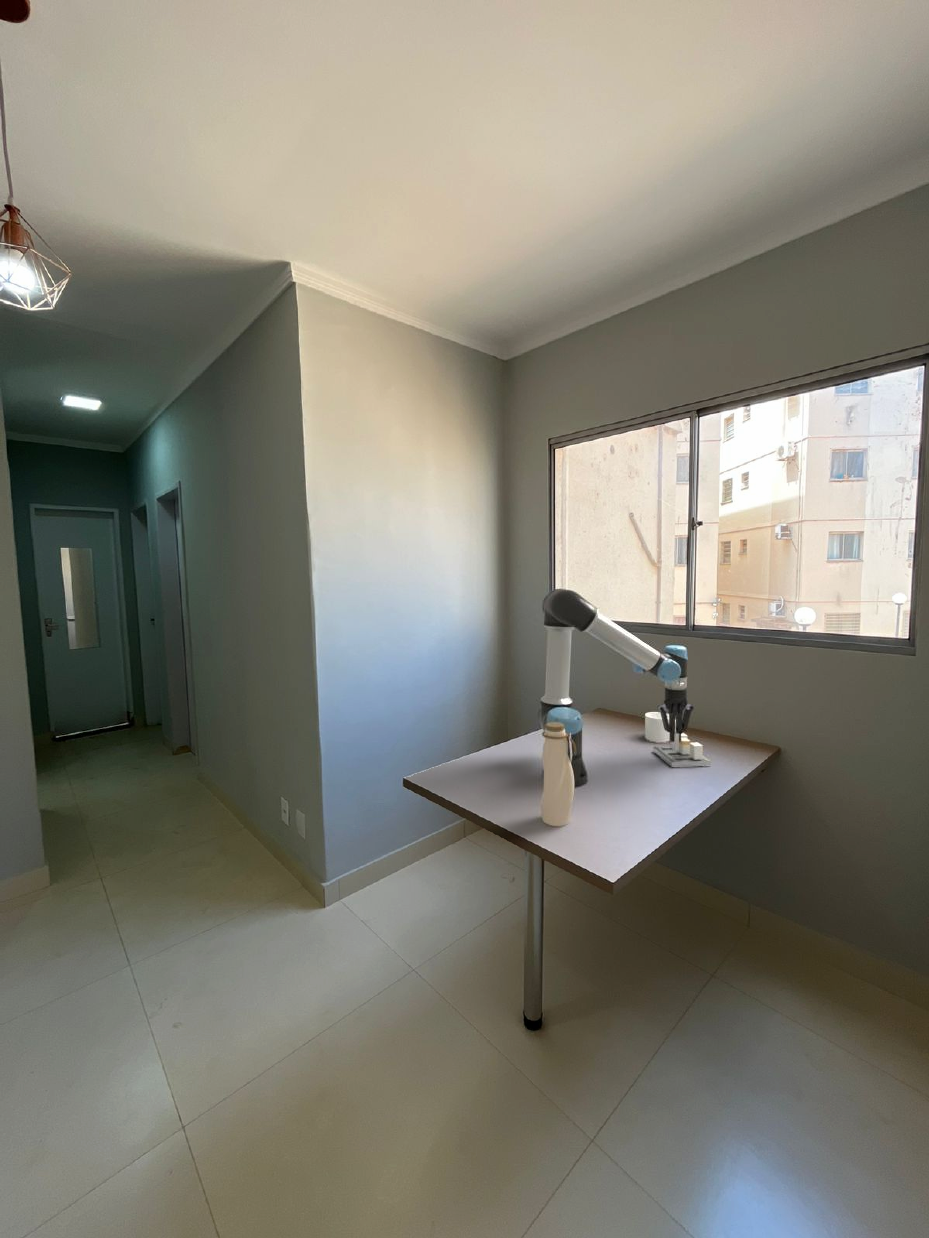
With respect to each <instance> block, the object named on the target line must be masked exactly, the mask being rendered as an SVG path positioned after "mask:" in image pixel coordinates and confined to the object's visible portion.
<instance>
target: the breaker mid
mask: <svg viewBox="0 0 929 1238" xmlns="http://www.w3.org/2000/svg"><path fill="white" fill-rule="evenodd" d="M690 743H691V740H690V739H687V738H681V741H679V751H678V752H680V753H681V754H689V753H690Z"/></svg>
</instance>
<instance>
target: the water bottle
mask: <svg viewBox="0 0 929 1238" xmlns="http://www.w3.org/2000/svg"><path fill="white" fill-rule="evenodd" d="M541 736H542V737H544V742H543V746H542V753H541V759H542V767H543V769H544V779H543V792H542V798H541V801H540V806H539V807H540V814H541V819H542V822H544V823H545V824H546V825H549V826H552V827H563V826H566V825H568V824H569V823H570V816H571V811H572V806H573V802H574V796H575V787H574V774H573V769H572V765H571V762H570V759H569V757H568V741H567V738H568V739H569V744H570V758H571V760H572V746H571V742H572V744H573V746H574V755H576V746H575V743H574V742H573V740H572V739H571V732H570V737H569V736H568V734H567V733H566V732H565V729H564V724H563V723H559V722H549V723H547V724H546V729H545V731H542V732H541ZM566 737H567V738H566Z"/></svg>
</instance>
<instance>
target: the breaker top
mask: <svg viewBox="0 0 929 1238" xmlns="http://www.w3.org/2000/svg"><path fill="white" fill-rule="evenodd" d="M688 737H689V736H688V735H687V734H686V733H684V732H683V733H682V734H681V738H687V739H688ZM688 740H689V739H688Z"/></svg>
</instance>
